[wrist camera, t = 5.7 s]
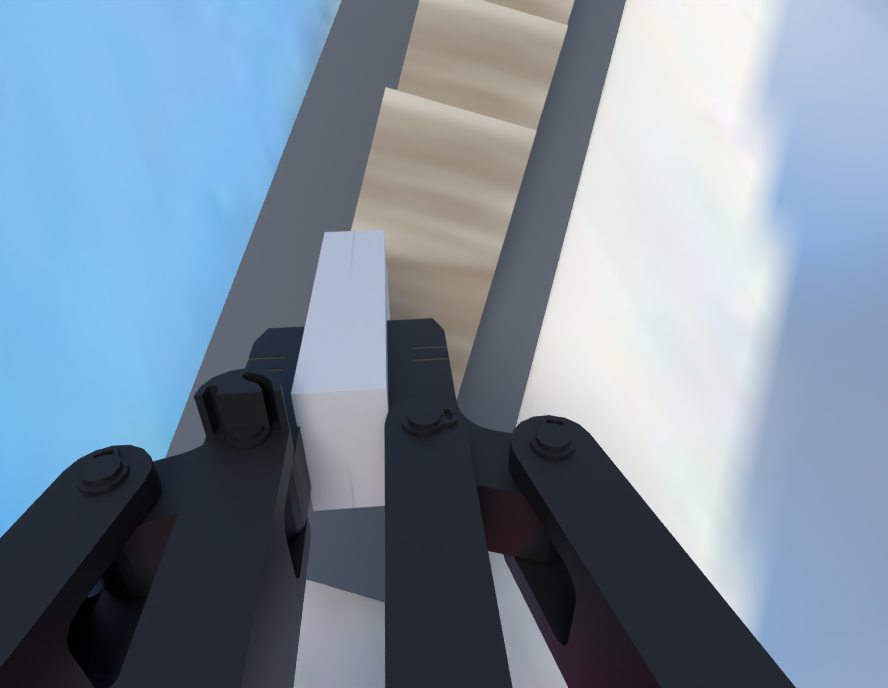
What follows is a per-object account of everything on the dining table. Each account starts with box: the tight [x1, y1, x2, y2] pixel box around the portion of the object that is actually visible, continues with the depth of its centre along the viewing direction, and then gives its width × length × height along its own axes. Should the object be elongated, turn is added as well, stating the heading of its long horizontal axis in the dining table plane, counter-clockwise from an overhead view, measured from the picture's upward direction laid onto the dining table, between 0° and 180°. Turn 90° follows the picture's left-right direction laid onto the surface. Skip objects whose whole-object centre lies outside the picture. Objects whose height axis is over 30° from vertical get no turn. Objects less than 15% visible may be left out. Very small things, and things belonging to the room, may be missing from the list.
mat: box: [166, 0, 626, 602], centre depth 24 cm, size 30×12×1 cm, turn 164°
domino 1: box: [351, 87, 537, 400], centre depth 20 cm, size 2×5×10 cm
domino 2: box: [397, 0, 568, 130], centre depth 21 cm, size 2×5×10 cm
